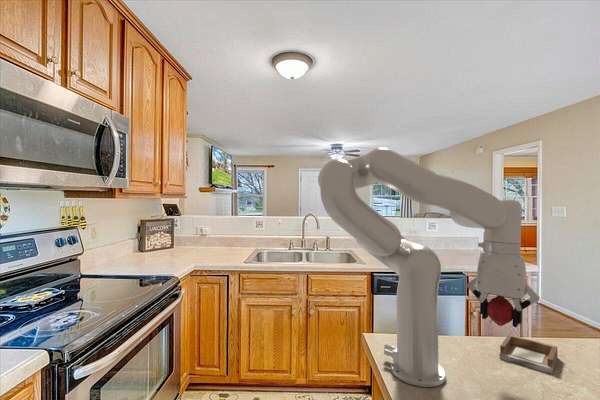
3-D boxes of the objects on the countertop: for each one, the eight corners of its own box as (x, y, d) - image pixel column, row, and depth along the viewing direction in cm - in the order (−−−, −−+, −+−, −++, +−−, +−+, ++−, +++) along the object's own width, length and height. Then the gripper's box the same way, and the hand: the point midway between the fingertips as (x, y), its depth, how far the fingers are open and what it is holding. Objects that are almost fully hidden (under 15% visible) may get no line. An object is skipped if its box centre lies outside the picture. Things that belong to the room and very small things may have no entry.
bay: (499, 358, 82) (499, 346, 82) (508, 344, 89) (508, 334, 89) (552, 374, 74) (552, 361, 74) (557, 357, 82) (557, 346, 82)
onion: (512, 332, 71) (512, 298, 72) (484, 325, 75) (484, 293, 75) (515, 326, 76) (516, 293, 76) (489, 319, 80) (489, 289, 80)
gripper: (459, 245, 79) (457, 315, 79) (543, 255, 67) (541, 337, 67) (468, 244, 85) (467, 309, 84) (548, 252, 72) (546, 328, 72)
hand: (500, 320), depth 75 cm, fingers closed on onion, 5 cm apart
